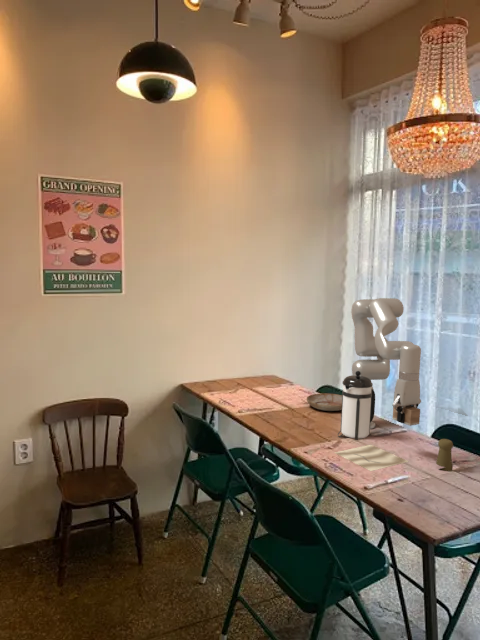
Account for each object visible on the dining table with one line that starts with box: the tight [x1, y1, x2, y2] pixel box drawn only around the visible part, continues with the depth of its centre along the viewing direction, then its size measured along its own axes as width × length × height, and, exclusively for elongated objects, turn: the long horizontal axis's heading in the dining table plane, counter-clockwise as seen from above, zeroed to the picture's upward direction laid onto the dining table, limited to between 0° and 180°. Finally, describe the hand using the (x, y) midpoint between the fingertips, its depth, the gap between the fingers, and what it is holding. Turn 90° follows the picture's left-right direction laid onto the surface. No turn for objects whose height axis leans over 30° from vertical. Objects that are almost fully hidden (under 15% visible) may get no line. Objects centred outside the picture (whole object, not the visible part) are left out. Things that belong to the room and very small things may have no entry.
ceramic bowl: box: [306, 392, 342, 412], centre depth 265 cm, size 23×24×5 cm
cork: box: [435, 438, 454, 472], centre depth 188 cm, size 6×6×11 cm
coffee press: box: [337, 371, 376, 441], centre depth 219 cm, size 17×16×30 cm
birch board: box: [334, 444, 410, 472], centre depth 194 cm, size 20×20×2 cm
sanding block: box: [392, 406, 421, 427], centre depth 196 cm, size 9×5×6 cm, turn 29°
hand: (405, 420), depth 196 cm, fingers closed on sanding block, 5 cm apart
